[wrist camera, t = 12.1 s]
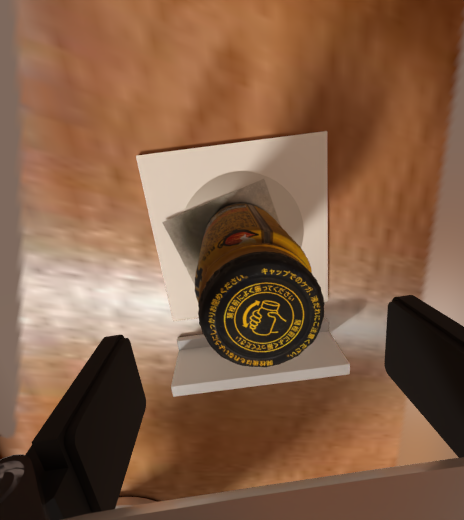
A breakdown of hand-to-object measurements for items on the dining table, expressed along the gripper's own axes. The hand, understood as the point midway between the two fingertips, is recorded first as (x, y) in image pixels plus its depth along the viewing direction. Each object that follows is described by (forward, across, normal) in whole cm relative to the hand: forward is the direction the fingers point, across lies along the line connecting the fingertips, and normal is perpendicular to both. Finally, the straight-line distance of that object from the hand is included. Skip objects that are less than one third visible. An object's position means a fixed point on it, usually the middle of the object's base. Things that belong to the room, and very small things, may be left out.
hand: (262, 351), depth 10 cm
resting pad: (+14, -1, -1) cm, 14 cm away
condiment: (+14, 0, -1) cm, 14 cm away
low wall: (+14, -1, +9) cm, 17 cm away
